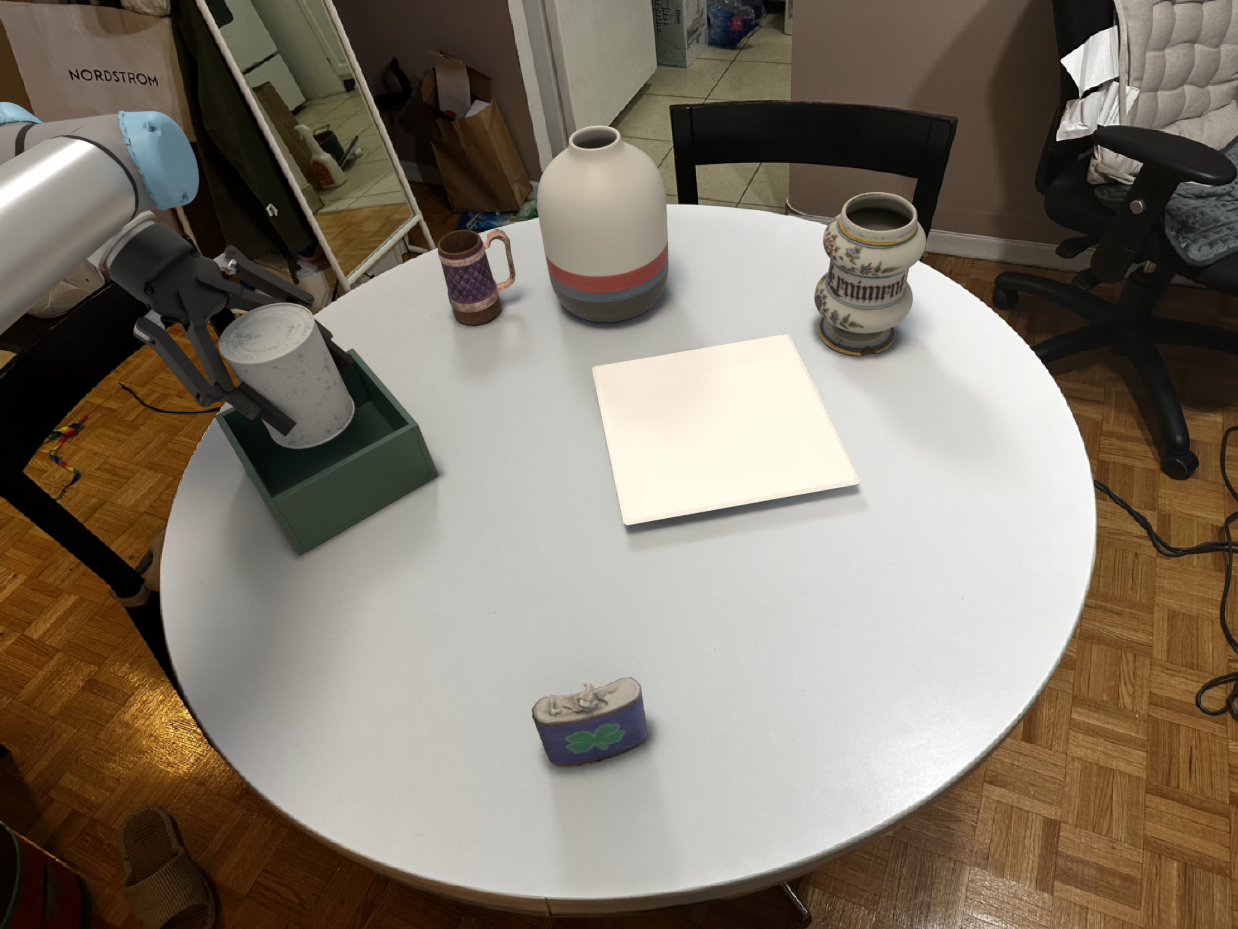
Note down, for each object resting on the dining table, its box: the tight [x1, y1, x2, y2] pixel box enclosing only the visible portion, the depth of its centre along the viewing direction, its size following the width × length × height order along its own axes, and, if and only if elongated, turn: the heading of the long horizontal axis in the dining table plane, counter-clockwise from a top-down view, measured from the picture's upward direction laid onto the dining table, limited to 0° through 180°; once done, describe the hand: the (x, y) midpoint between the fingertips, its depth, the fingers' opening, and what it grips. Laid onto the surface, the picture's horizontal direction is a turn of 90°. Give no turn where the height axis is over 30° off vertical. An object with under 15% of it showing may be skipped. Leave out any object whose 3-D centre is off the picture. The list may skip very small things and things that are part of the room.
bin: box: [213, 347, 439, 556], centre depth 91 cm, size 18×18×9 cm
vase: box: [536, 125, 669, 323], centre depth 104 cm, size 17×17×24 cm
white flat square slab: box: [591, 333, 861, 526], centre depth 93 cm, size 26×26×2 cm
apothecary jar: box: [814, 191, 927, 357], centre depth 97 cm, size 12×12×18 cm
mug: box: [437, 228, 516, 326], centre depth 109 cm, size 10×7×12 cm
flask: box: [531, 676, 649, 768], centre depth 66 cm, size 9×3×11 cm, turn 103°
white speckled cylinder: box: [218, 303, 355, 449], centre depth 83 cm, size 10×10×12 cm
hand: (321, 397), depth 84 cm, fingers closed on white speckled cylinder, 9 cm apart
